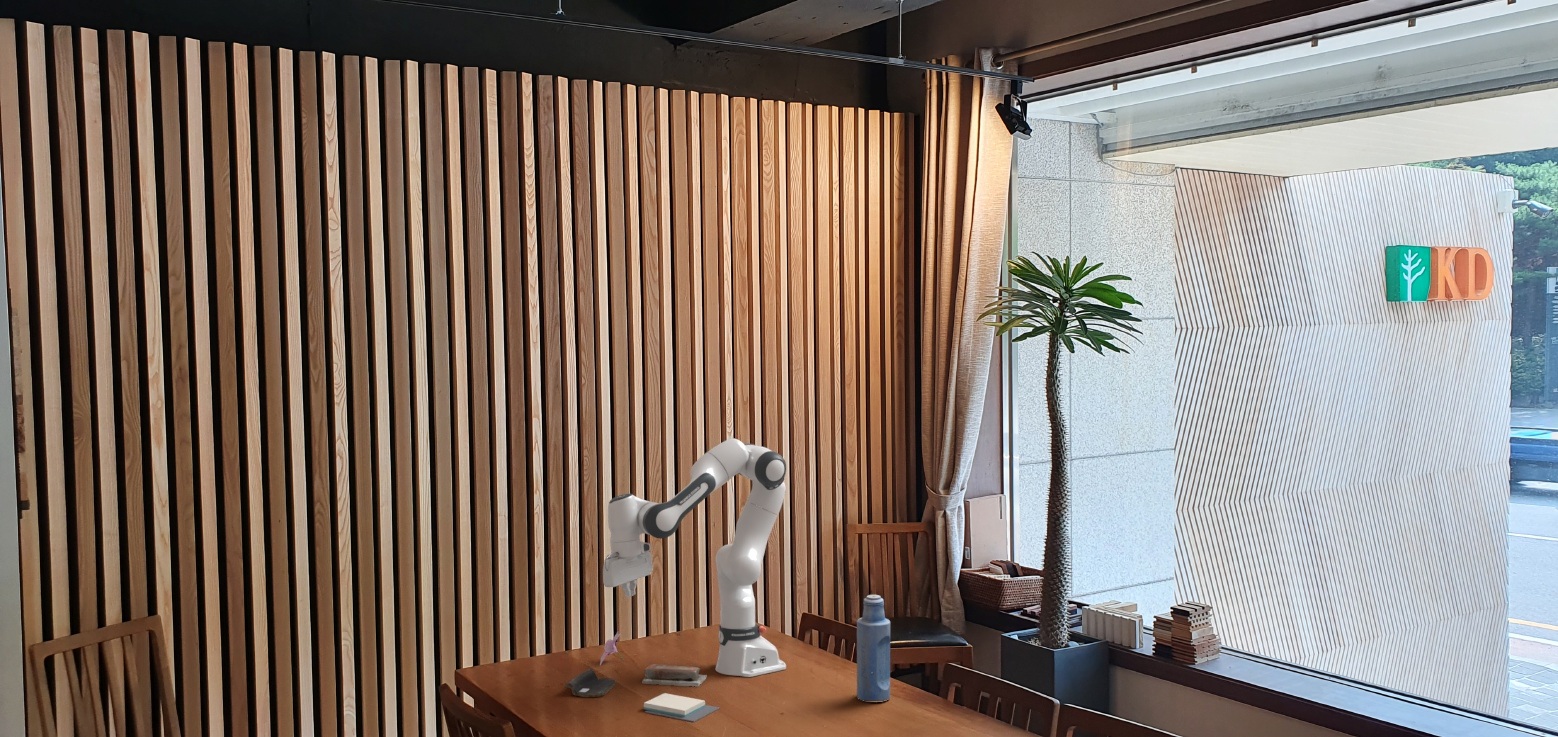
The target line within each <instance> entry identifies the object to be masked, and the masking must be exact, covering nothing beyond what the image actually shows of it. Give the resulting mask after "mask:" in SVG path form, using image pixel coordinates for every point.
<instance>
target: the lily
mask: <svg viewBox="0 0 1558 737" xmlns="http://www.w3.org/2000/svg"><path fill="white" fill-rule="evenodd" d="M621 634H622V633H621V632H620V633H619V630H618V631H617V632H616V634H615V635H614V637H613V638H612V639H608V640H606V641H605V644H604V646H603V647H604V652H603V654H602V656H601V657H600V663H599V666H601V665H602V664H603V663H604V660H605V658H606V657H607V656H609V655H613V654H614V653H617V654H618V655H619V657H620V658H621V660H622V661H623V660H624V661H625V659H624V658H623V656H622V654H620V652H619V651H618V650H617V640H618V638H619V637H620V635H621Z"/></svg>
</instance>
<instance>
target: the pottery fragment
mask: <svg viewBox="0 0 1558 737" xmlns="http://www.w3.org/2000/svg"><path fill="white" fill-rule="evenodd" d="M615 685H616V679H615V678H614V679H613V678H605V677H603V678H598V676H597V674H596V672H595V670H594V669H593V668H589V669H587V670H585V671H583V672H581V673H580V674H578V675H576V676H575V677H573V678H572V679H570V680H569V681H568V682H566V683H565V685H564V688H569V689H570V690H571V693H572V695H573V696H576V697H582V698H597V697H598V698H600V697H604V696H606V695H607V693H608V692H610V691H611V690H612V689H613V688H615ZM610 689H611V690H610ZM603 695H604V696H603Z"/></svg>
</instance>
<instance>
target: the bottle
mask: <svg viewBox="0 0 1558 737" xmlns="http://www.w3.org/2000/svg"><path fill="white" fill-rule="evenodd" d="M862 604H863V610H862V617H859V618H858V619H857V620H856V698H857V699H858V698H859V699H860V700H859V699H858V700H859V701H861V700H864V701H884V700H887V699H889V698H890V699H891V621H890V620H889V618H886V616H885V615H886V614H885V602H884V598H882V597H881V595H878V594H869V595H867V596H866V597H865V598H863V603H862ZM890 699H889V700H890Z"/></svg>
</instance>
